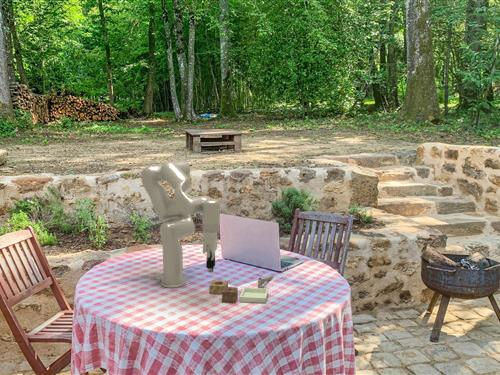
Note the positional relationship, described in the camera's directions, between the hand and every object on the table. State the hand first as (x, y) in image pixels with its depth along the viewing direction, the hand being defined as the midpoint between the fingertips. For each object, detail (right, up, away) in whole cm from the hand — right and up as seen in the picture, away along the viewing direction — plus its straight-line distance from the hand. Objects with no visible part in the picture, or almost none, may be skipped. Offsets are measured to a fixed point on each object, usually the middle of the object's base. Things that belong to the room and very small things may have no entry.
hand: (210, 266), depth 221 cm
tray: (+19, -15, +5) cm, 25 cm away
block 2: (+8, -15, +2) cm, 18 cm away
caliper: (+25, -12, +23) cm, 36 cm away
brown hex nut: (+3, -14, +13) cm, 19 cm away
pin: (0, -2, 0) cm, 2 cm away
